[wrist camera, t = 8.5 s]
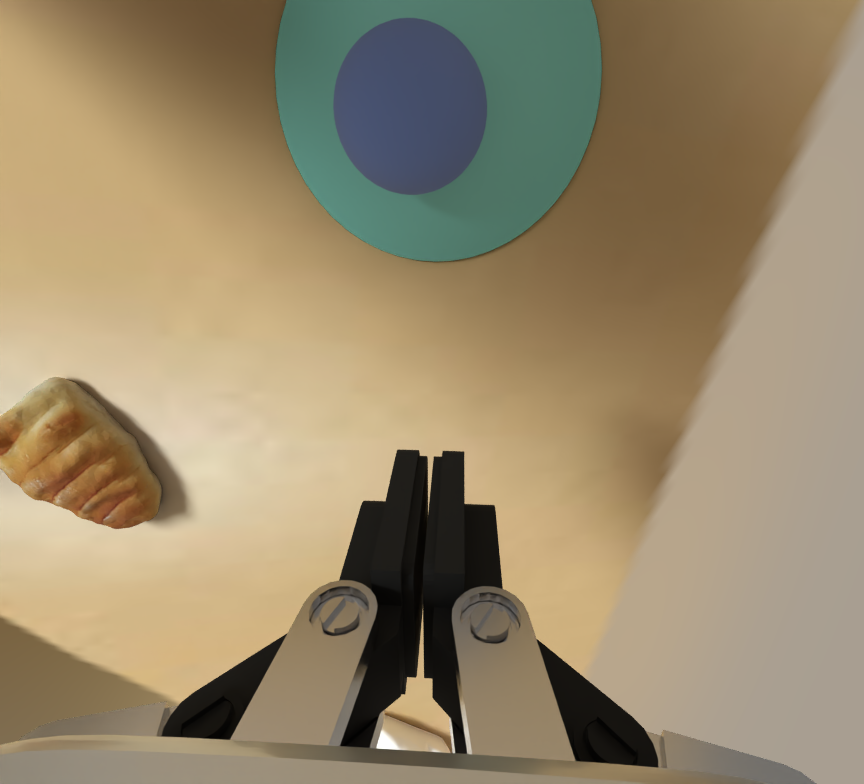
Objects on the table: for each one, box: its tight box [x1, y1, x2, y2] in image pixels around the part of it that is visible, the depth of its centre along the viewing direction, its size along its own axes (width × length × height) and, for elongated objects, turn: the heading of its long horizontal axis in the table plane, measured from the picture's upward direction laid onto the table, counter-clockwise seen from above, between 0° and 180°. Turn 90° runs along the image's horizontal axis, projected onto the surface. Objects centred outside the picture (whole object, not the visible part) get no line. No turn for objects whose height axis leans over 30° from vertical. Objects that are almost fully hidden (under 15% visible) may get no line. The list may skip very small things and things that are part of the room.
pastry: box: [0, 377, 162, 529], centre depth 27 cm, size 9×7×4 cm
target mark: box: [275, 0, 602, 262], centre depth 20 cm, size 13×13×1 cm
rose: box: [376, 715, 451, 753], centre depth 38 cm, size 10×4×10 cm
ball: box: [333, 18, 487, 195], centre depth 18 cm, size 6×6×6 cm
